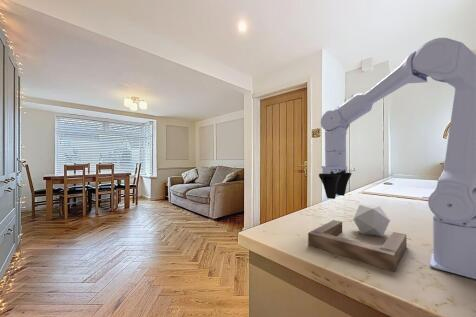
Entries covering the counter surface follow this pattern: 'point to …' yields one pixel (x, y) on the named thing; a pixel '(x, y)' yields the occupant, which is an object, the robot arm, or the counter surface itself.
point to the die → (371, 220)
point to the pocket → (359, 246)
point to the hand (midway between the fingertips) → (335, 196)
